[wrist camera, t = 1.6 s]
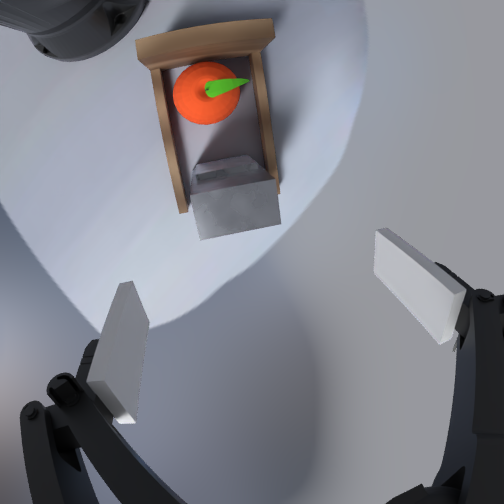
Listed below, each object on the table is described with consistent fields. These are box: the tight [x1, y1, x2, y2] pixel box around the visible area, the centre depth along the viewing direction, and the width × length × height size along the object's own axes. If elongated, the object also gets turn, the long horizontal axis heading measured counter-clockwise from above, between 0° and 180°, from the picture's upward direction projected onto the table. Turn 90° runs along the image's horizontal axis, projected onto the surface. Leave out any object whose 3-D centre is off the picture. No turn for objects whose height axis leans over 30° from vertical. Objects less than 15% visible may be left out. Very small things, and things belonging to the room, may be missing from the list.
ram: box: [190, 155, 281, 240], centre depth 30 cm, size 5×7×12 cm, turn 99°
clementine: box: [173, 61, 250, 125], centre depth 27 cm, size 8×7×7 cm
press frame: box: [135, 18, 280, 214], centre depth 28 cm, size 19×12×9 cm, turn 9°
